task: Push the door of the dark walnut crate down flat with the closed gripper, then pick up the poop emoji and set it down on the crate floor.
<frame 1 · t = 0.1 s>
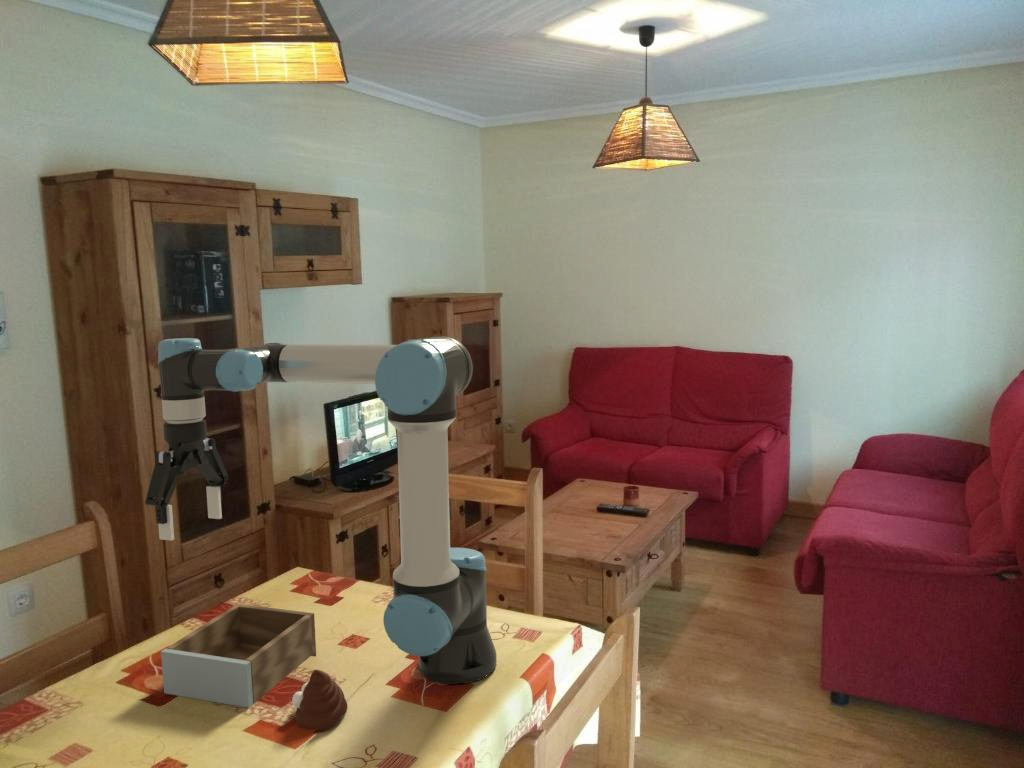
hand: (192, 528, 152), 28 cm above the table, fingers open, 13 cm apart
poop emoji: (321, 720, 135), on the table
crate: (206, 705, 140), on the table
door: (206, 677, 140), point 5 cm above the table, hinge at 0.0°
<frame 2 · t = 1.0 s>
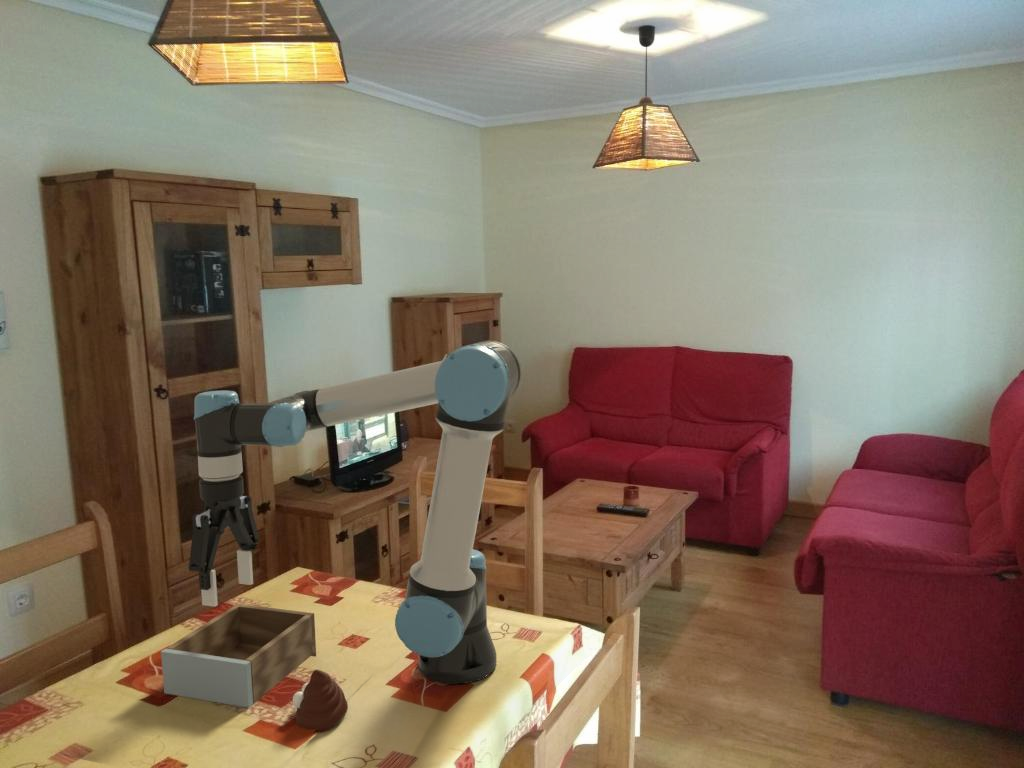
hand: (228, 593, 145), 18 cm above the table, fingers open, 10 cm apart
nothing on the table moved.
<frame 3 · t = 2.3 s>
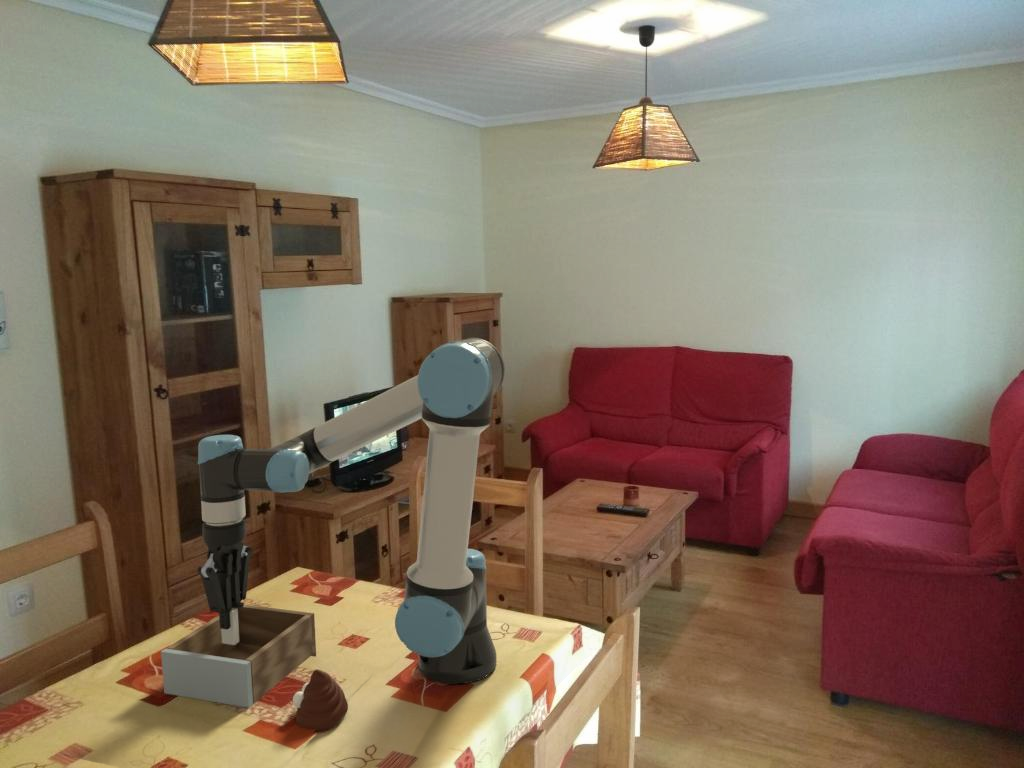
hand: (230, 642, 146), 8 cm above the table, fingers closed
nothing on the table moved.
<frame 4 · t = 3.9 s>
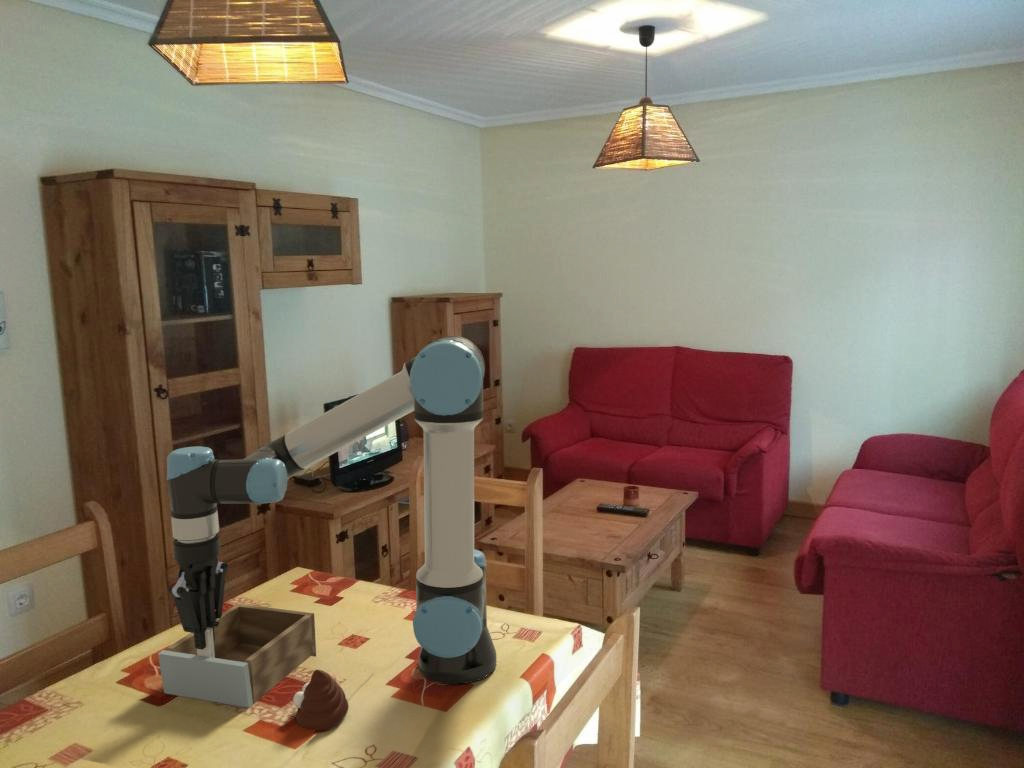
hand: (206, 662, 140), 8 cm above the table, fingers closed
door: (205, 678, 139), point 5 cm above the table, hinge at 5.4°, touching gripper
everything else where it was.
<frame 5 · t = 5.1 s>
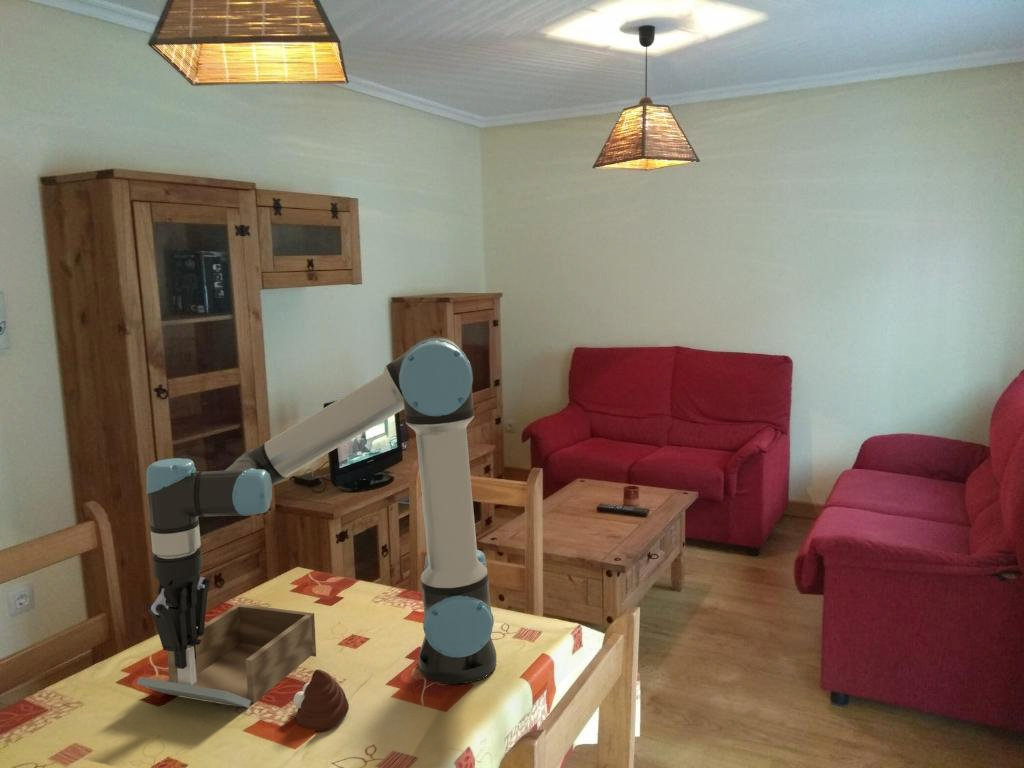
hand: (187, 682, 135), 6 cm above the table, fingers closed
door: (194, 692, 137), point 4 cm above the table, hinge at 51.1°, touching gripper
everything else where it was.
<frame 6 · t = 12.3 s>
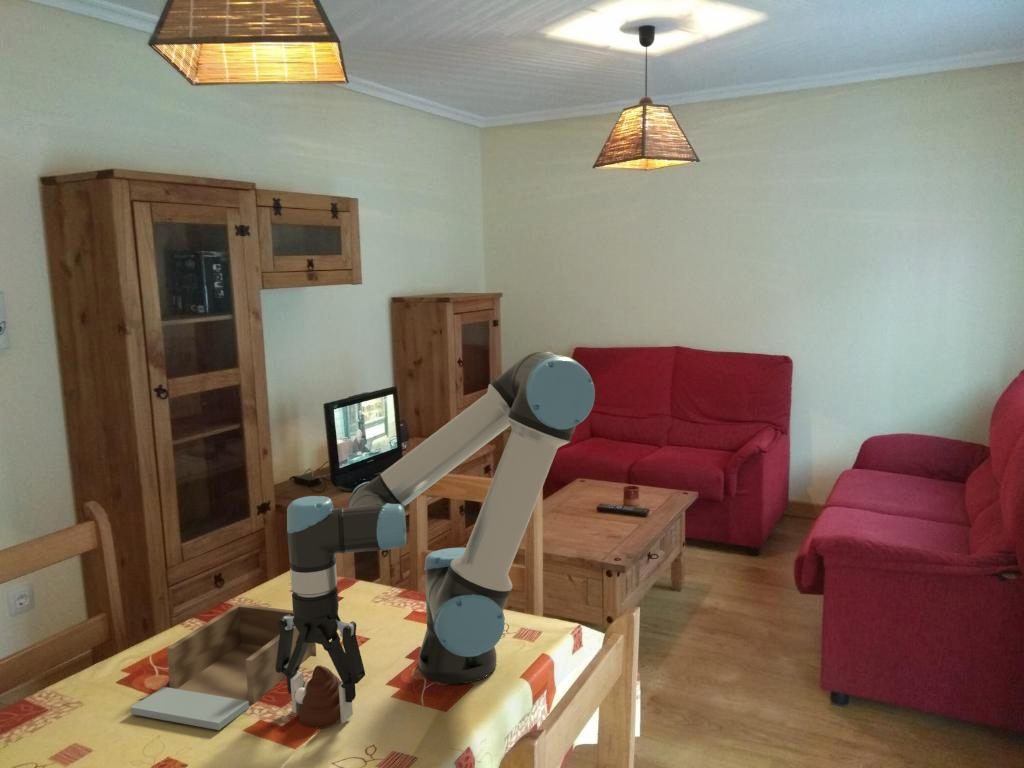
hand: (322, 714, 135), 1 cm above the table, fingers closed on poop emoji, 9 cm apart
poop emoji: (324, 715, 136), on the table, touching gripper
door: (190, 707, 136), point 2 cm above the table, hinge at 86.6°
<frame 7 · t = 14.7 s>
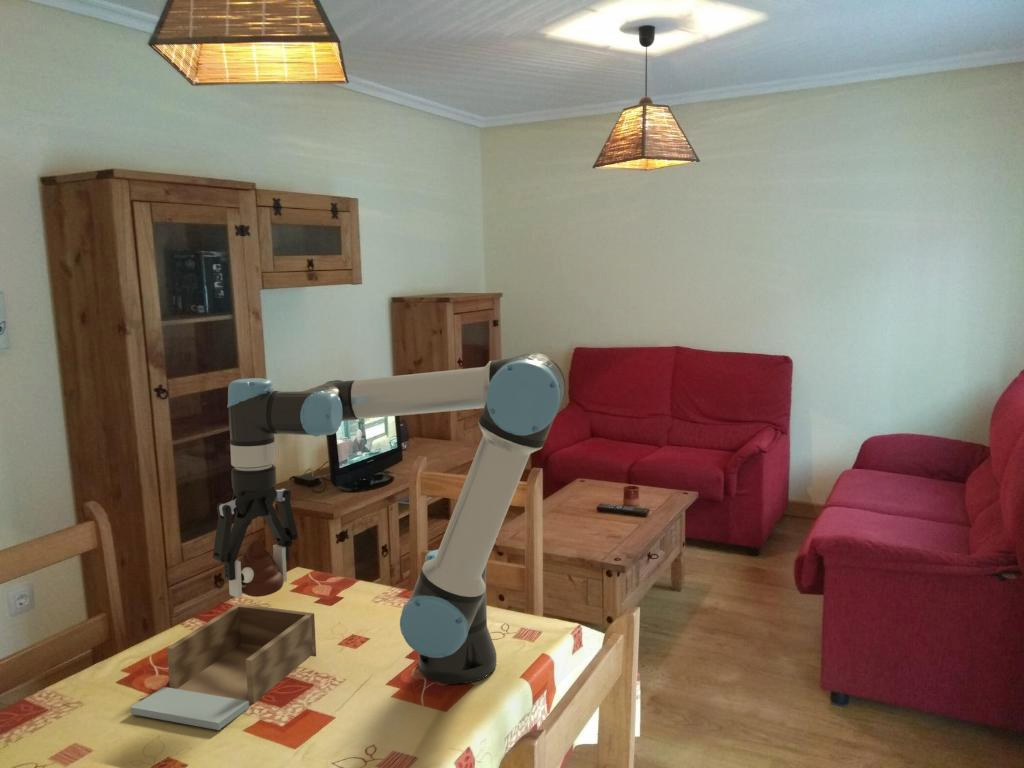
hand: (258, 587, 142), 20 cm above the table, fingers closed on poop emoji, 9 cm apart
poop emoji: (257, 589, 143), point 19 cm above the table, touching gripper
everything else where it was.
when the fingers open (3 cm above the table, at t = 18.9 s): poop emoji drops 1 cm, resting on crate.
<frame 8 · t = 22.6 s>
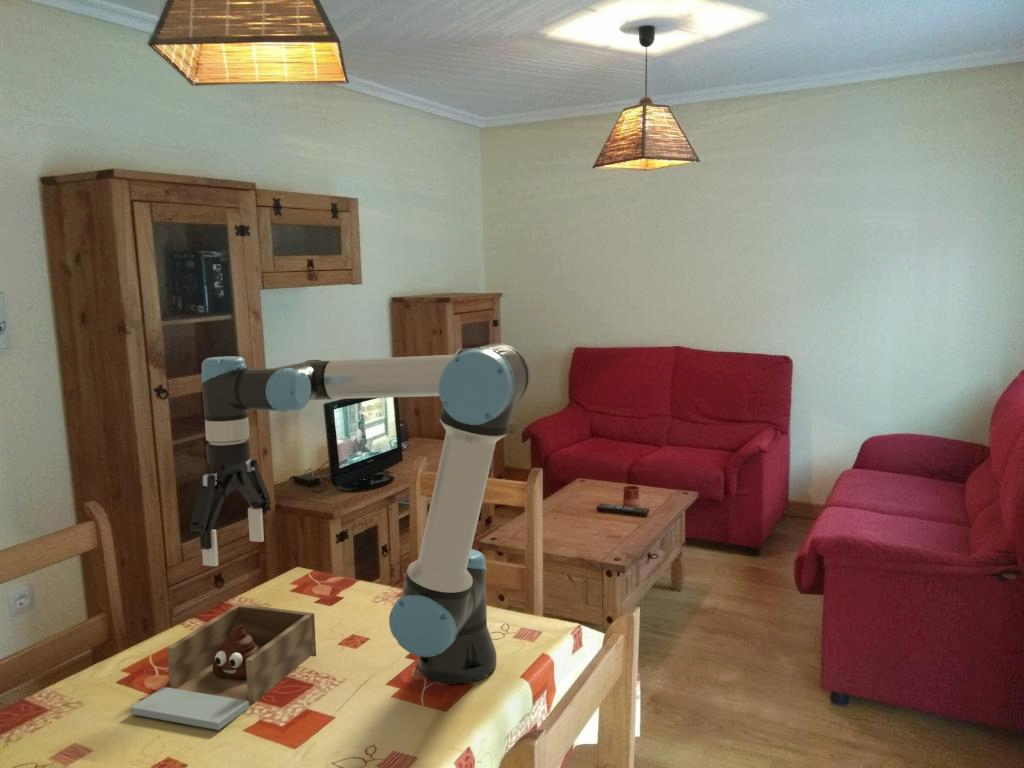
hand: (234, 552, 147), 25 cm above the table, fingers open, 13 cm apart
poop emoji: (239, 672, 150), point 1 cm above the table, touching crate
everything else where it was.
at the end: door at +87° (first picture: +0°); poop emoji inside the target area on the crate (0.8 cm from its centre), point 0.8 cm above the crate's base; poop emoji tilted 0° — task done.
